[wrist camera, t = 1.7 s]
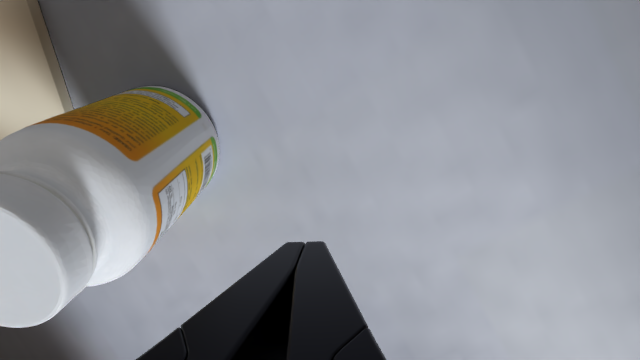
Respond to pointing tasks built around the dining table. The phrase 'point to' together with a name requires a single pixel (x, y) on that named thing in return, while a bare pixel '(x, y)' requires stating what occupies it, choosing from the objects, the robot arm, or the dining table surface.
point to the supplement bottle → (95, 194)
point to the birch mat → (28, 69)
